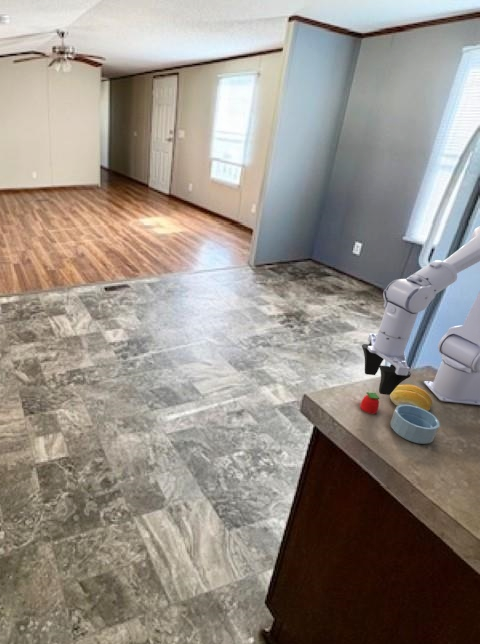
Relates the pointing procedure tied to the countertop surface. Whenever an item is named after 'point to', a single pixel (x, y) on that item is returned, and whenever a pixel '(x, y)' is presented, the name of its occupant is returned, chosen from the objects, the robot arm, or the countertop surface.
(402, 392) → the bread roll
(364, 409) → the strawberry
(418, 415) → the bowl
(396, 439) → the countertop surface
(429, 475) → the countertop surface
